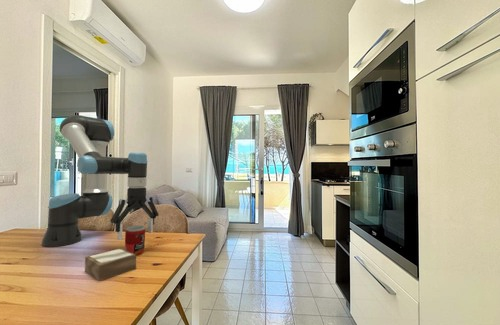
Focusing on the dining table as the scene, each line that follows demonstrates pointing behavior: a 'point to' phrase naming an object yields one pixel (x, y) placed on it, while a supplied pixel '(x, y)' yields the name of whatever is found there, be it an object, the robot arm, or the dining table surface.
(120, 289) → the dining table surface
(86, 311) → the dining table surface
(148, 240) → the dining table surface
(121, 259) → the base block
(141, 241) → the canned food
